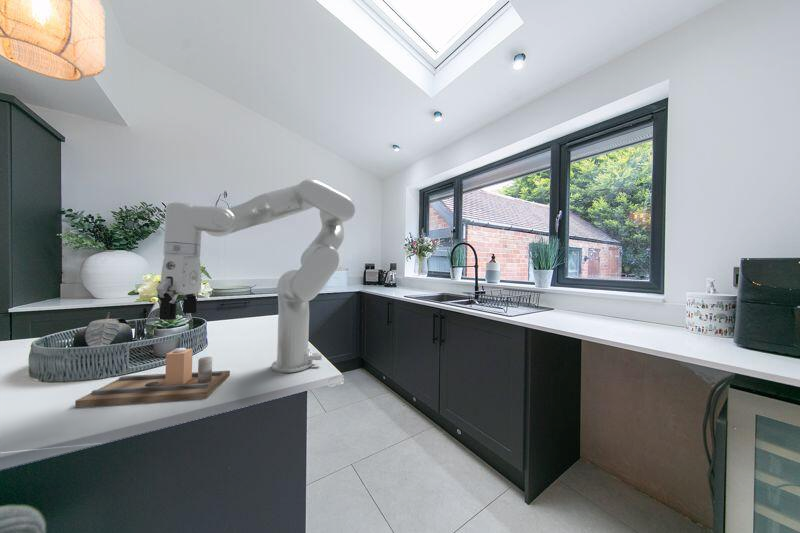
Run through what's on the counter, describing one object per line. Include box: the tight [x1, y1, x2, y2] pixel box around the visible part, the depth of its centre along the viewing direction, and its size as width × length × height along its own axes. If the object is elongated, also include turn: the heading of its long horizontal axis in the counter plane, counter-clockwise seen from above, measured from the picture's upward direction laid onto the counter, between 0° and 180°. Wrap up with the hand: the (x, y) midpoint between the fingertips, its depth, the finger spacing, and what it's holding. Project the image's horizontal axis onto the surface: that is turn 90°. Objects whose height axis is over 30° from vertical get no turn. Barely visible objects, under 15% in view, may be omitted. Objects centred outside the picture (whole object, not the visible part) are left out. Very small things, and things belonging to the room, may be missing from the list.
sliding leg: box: [165, 347, 194, 386], centre depth 70 cm, size 4×4×9 cm
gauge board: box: [74, 356, 231, 408], centre depth 70 cm, size 26×14×8 cm, turn 102°
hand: (179, 316), depth 70 cm, fingers open, 9 cm apart
